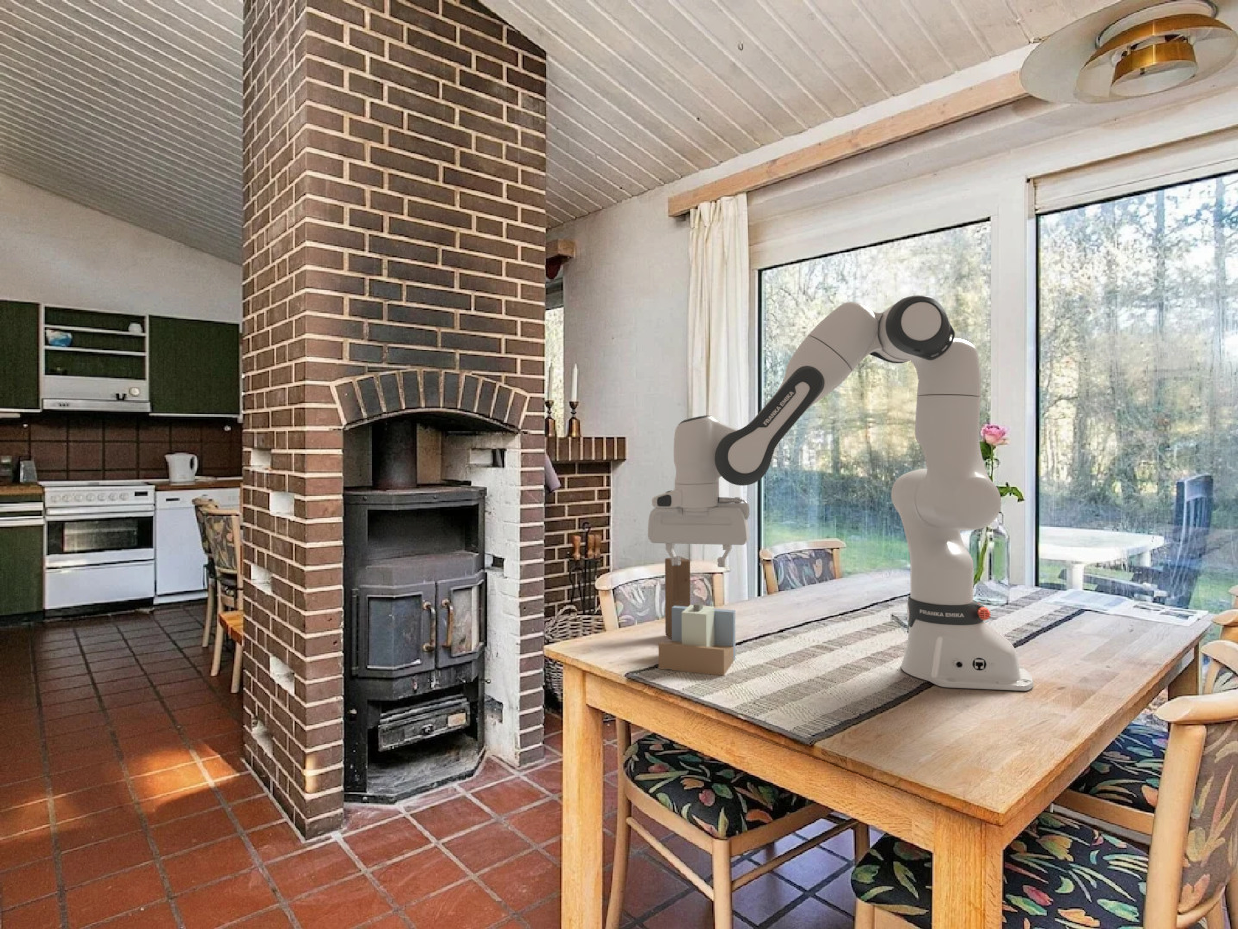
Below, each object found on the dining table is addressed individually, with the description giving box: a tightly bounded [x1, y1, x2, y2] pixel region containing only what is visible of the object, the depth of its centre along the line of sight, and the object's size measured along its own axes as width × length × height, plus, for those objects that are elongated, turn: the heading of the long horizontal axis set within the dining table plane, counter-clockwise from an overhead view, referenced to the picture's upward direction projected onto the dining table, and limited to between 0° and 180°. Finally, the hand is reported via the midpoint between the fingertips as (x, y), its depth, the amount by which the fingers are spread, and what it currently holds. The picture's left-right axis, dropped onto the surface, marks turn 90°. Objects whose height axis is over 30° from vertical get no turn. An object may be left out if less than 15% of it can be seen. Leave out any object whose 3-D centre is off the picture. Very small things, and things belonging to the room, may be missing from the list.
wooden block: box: [664, 556, 691, 640], centre depth 162 cm, size 9×4×18 cm, turn 21°
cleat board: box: [658, 606, 736, 677], centre depth 145 cm, size 13×12×10 cm
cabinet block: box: [682, 601, 715, 647], centre depth 145 cm, size 5×7×9 cm
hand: (698, 566), depth 144 cm, fingers open, 8 cm apart
